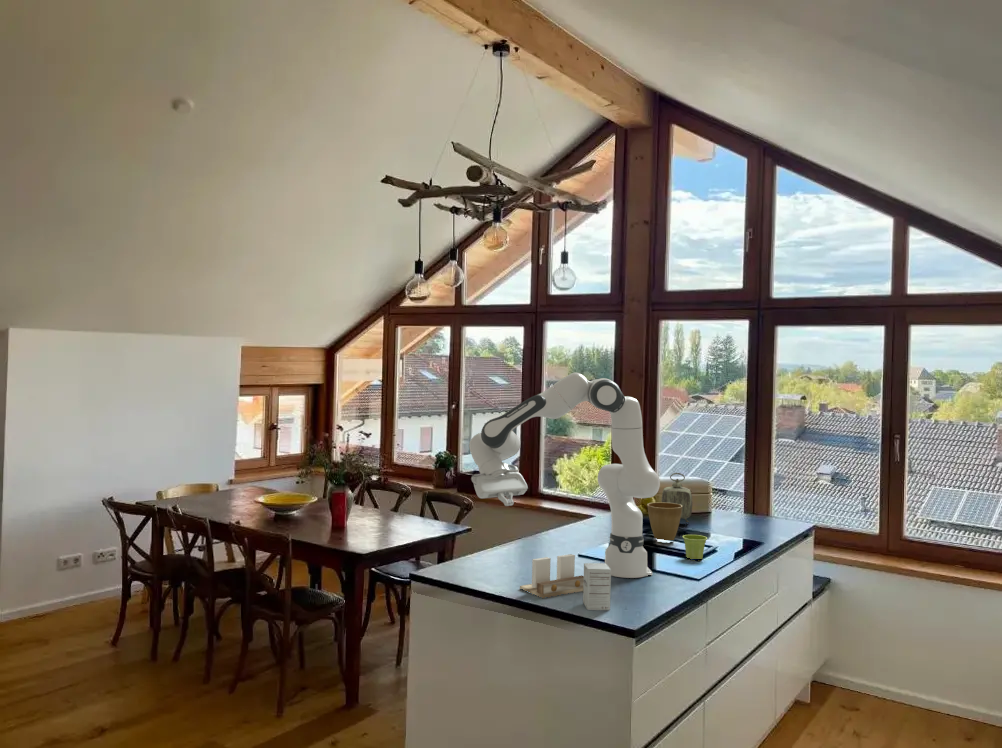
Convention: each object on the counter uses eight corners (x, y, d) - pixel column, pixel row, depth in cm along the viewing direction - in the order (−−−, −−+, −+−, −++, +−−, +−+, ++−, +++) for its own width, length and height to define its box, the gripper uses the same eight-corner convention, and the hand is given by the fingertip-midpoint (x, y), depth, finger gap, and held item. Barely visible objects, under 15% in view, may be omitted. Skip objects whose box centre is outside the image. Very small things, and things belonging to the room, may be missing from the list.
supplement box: (582, 603, 247) (583, 562, 247) (605, 603, 247) (606, 562, 247) (586, 610, 239) (587, 568, 239) (610, 610, 240) (611, 568, 240)
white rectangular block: (531, 586, 258) (532, 559, 258) (546, 584, 261) (546, 557, 261) (535, 588, 256) (536, 560, 256) (549, 585, 260) (550, 558, 260)
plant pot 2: (707, 562, 306) (707, 540, 306) (682, 560, 307) (682, 538, 307) (706, 557, 315) (706, 535, 315) (681, 555, 317) (682, 534, 317)
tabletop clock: (691, 523, 387) (692, 472, 387) (692, 527, 378) (693, 474, 378) (661, 522, 389) (662, 471, 389) (661, 525, 381) (662, 473, 381)
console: (519, 589, 261) (520, 576, 261) (563, 581, 272) (564, 569, 272) (543, 598, 251) (543, 585, 251) (587, 590, 262) (588, 577, 262)
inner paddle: (556, 583, 263) (557, 556, 263) (570, 580, 267) (570, 554, 267) (560, 584, 262) (561, 557, 262) (574, 582, 265) (574, 555, 265)
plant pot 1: (658, 536, 353) (659, 500, 353) (688, 542, 343) (688, 505, 343) (639, 541, 342) (640, 504, 342) (669, 547, 332) (670, 509, 332)
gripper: (473, 469, 273) (488, 501, 266) (520, 466, 285) (536, 496, 278) (465, 480, 277) (481, 512, 269) (512, 476, 289) (528, 507, 281)
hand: (509, 504), depth 273 cm, fingers closed
